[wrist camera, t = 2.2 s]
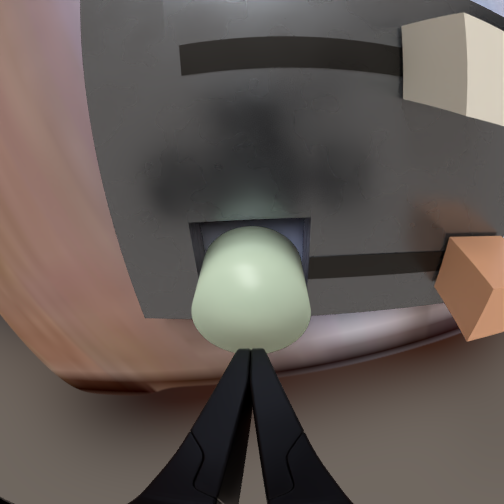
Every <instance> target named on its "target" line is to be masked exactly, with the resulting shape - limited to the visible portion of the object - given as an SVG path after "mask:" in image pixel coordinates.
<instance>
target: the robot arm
mask: <svg viewBox="0 0 504 504" xmlns="http://www.w3.org/2000/svg"><path fill="white" fill-rule="evenodd" d="M252 409H253V414H254V421H255V428H256V434H257V442H258V447H259V455H260V461H261V468H262V475H263V481H264V487H265V494H266V500H267V504H353V503H352V502H351V500H350V499H349V498H348V497H347V496H346V495H345V493H344V492H343V491H342V490H341V488H340V487H339V486H338V484H337V483H336V481H335V480H334V479H333V477H332V476H331V475H330V473H329V472H328V471H327V469H326V468H325V466H324V465H323V464H322V462H321V461H320V459H319V457H318V456H317V455H316V453H315V451H314V449H313V447H312V445H311V444H310V442H309V440H308V438H307V436H306V434H305V433H304V430H303V428H302V426H301V424H300V422H299V420H298V418H297V416H296V414H295V412H294V410H293V408H292V406H291V404H290V402H289V400H288V398H287V395H286V393H285V392H284V389H283V387H282V385H281V383H280V381H279V379H278V377H277V375H276V373H275V370H274V368H273V366H272V364H271V362H270V360H269V358H268V356H267V353H266V351H265V350H264V349H263V348H253V349H249V348H240V349H238V350H237V351H236V353H235V355H234V356H233V358H232V360H231V362H230V363H229V365H228V367H227V369H226V370H225V372H224V374H223V376H222V377H221V379H220V381H219V383H218V384H217V386H216V388H215V390H214V391H213V393H212V395H211V396H210V398H209V400H208V402H207V403H206V405H205V407H204V408H203V410H202V411H201V413H200V415H199V417H198V418H197V420H196V422H195V423H194V425H193V427H192V428H191V430H190V431H191V432H189V433H188V435H187V436H186V438H185V440H184V441H183V443H182V444H181V446H180V447H179V449H178V450H177V452H176V453H175V454H174V456H173V457H172V458H171V460H170V461H169V462H168V464H167V465H166V466H165V467H164V468H163V469H162V471H161V472H160V473H159V474H158V475H157V476H156V478H155V479H154V480H153V481H152V482H151V483H150V484H149V486H148V487H147V488H146V489H145V490H144V491H143V492H142V493H141V494H140V495H139V496H138V497H137V498H135V499H134V500H133V501H131V502H130V503H128V504H239V498H240V492H241V486H242V479H243V473H244V466H245V459H246V452H247V446H248V439H249V431H250V424H251V418H252ZM0 504H14V503H12V502H10V501H8V500H5V499H4V498H1V497H0Z"/></svg>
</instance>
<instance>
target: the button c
mask: <svg viewBox="0 0 504 504" xmlns="http://www.w3.org/2000/svg"><path fill="white" fill-rule="evenodd" d="M191 313H192V319H193V322H194V324H195V326H196V328H197V330H198V331H199V332H200V334H201V335H202V336H203V337H204V338H205V339H207V340H208V341H209V342H211V343H212V344H214V345H215V346H217V347H219V348H221V349H224V350H227V351H230V352H234V353H236V351H237V350H238V349H240V348H249V349H253V348H263V349H264V350H265V351H266V353H271V352H275V351H278V350H281V349H283V348H285V347H287V346H289V345H291V344H292V343H294V342H295V341H296V340H297V339H298V338H300V337H301V336H302V334H303V333H304V332H305V330H306V329H307V327H308V324H309V322H310V317H311V308H310V303H309V297H308V292H307V287H306V282H305V277H304V272H303V267H302V262H301V257H300V255H299V252H298V250H297V249H296V247H295V246H294V244H293V243H292V242H291V241H290V240H289V239H288V238H286V237H285V236H284V235H282V234H280V233H278V232H277V231H274V230H272V229H268V228H264V227H258V226H247V227H240V228H235V229H233V230H230V231H228V232H226V233H224V234H222V235H221V236H219V237H218V238H217V239H216V240H215V241H213V243H212V244H211V245H210V246H209V248H208V250H207V252H206V254H205V257H204V261H203V264H202V268H201V272H200V276H199V279H198V283H197V287H196V291H195V295H194V299H193V303H192V311H191Z"/></svg>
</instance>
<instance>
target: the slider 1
mask: <svg viewBox="0 0 504 504" xmlns="http://www.w3.org/2000/svg"><path fill="white" fill-rule="evenodd" d="M401 29H402V47H403V99H404V100H409V101H413V102H417V103H422V104H426V105H429V106H433V107H437V108H441V109H444V110H448V111H451V112H454V113H458V114H461V115H464V116H468V117H472V118H476V119H480V120H483V121H487V122H491V123H494V124H498V125H501V126H504V31H502V30H501V29H499V28H497V27H495V26H493V25H491V24H489V23H487V22H484V21H482V20H480V19H478V18H476V17H473V16H471V15H469V14H467V13H464V12H463V13H457V14H451V15H446V16H441V17H436V18H432V19H427V20H423V21H419V22H415V23H411V24H407V25H403V26H401Z"/></svg>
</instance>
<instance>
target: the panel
mask: <svg viewBox="0 0 504 504" xmlns="http://www.w3.org/2000/svg"><path fill="white" fill-rule="evenodd" d="M463 12H464V13H467V14H469V15H471V16H473V17H476V18H478V19H480V20H482V21H484V22H487V23H489V24H491V25H493V26H495V27H497V28H499V29H501V30H502V31H504V17H502V16H500V15H498V14H497V13H495V12H493V11H491V10H489V9H487V8H485V7H483V6H481V5H479V4H477V3H475V2H472V1H470V0H80V18H81V43H82V58H83V69H84V79H85V88H86V96H87V103H88V110H89V116H90V123H91V129H92V134H93V140H94V145H95V150H96V155H97V160H98V165H99V169H100V174H101V178H102V183H103V187H104V191H105V195H106V199H107V203H108V207H109V210H110V214H111V218H112V221H113V225H114V228H115V232H116V235H117V239H118V242H119V245H120V248H121V252H122V255H123V258H124V261H125V264H126V267H127V270H128V273H129V276H130V279H131V282H132V285H133V287H134V290H135V293H136V296H137V298H138V301H139V304H140V306H141V309H142V312H143V314H144V317H145V318H165V319H192V313H191V311H192V303H193V299H194V295H195V291H196V287H197V283H198V279H199V276H200V272H201V268H202V264H203V261H204V257H205V252H204V246H203V240H202V233H201V227H200V222H211V221H230V220H251V219H276V218H304V231H303V259H302V267H303V272H304V277H305V282H306V287H307V292H308V297H309V303H310V308H311V316H313V315H328V314H342V313H354V312H366V311H377V310H387V309H396V308H405V307H413V306H421V305H429V304H437V303H444V301H443V300H442V298H441V296H440V295H439V293H438V292H437V290H436V289H435V287H434V285H435V282H436V280H437V277H438V274H439V271H440V267H441V264H442V261H443V258H444V255H445V251H446V248H447V244H448V241H449V237H469V236H502V237H503V236H504V126H501V125H498V124H494V123H491V122H487V121H483V120H480V119H476V118H472V117H468V116H464V115H461V114H458V113H454V112H451V111H448V110H444V109H441V108H437V107H433V106H429V105H426V104H422V103H417V102H413V101H409V100H404V99H403V47H402V29H401V26H403V25H407V24H411V23H415V22H419V21H423V20H427V19H432V18H436V17H441V16H446V15H451V14H457V13H463Z"/></svg>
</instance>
